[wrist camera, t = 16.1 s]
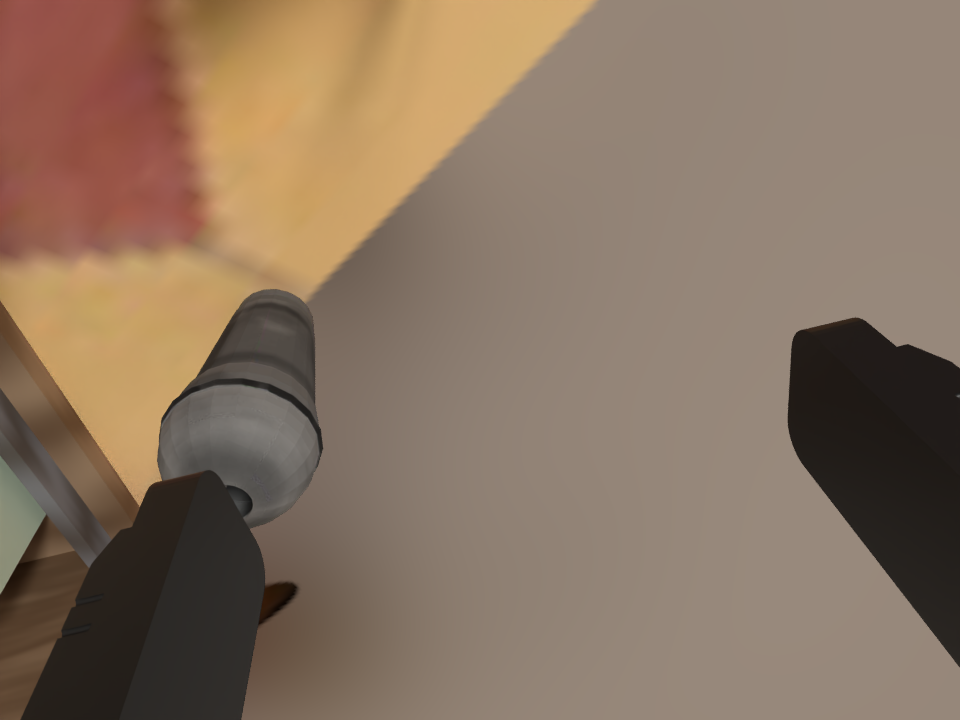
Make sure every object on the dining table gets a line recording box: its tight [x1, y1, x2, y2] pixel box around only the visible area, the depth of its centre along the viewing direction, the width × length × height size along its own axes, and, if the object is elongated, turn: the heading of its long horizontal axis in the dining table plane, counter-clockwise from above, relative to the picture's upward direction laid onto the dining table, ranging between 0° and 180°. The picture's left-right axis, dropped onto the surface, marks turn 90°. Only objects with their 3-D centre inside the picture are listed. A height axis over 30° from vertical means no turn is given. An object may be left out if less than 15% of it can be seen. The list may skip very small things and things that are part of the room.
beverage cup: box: [157, 289, 323, 529], centre depth 33 cm, size 7×7×20 cm
